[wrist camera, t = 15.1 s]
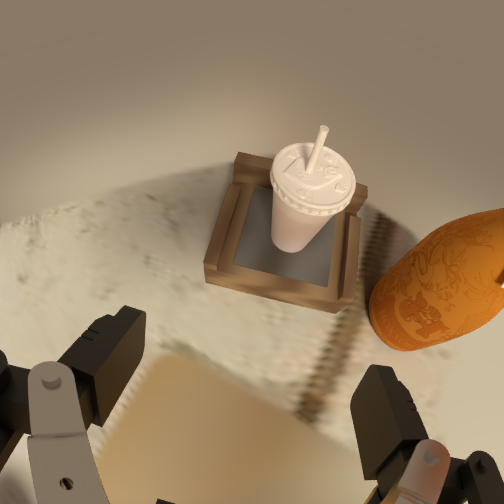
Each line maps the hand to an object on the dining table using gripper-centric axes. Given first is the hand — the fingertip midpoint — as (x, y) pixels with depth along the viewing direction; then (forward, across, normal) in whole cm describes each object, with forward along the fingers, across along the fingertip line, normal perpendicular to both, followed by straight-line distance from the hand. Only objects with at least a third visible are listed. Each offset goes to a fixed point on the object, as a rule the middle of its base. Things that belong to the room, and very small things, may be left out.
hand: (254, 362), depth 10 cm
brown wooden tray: (+25, -2, +3) cm, 25 cm away
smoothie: (+21, -2, +1) cm, 21 cm away
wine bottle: (+22, -17, +6) cm, 28 cm away
